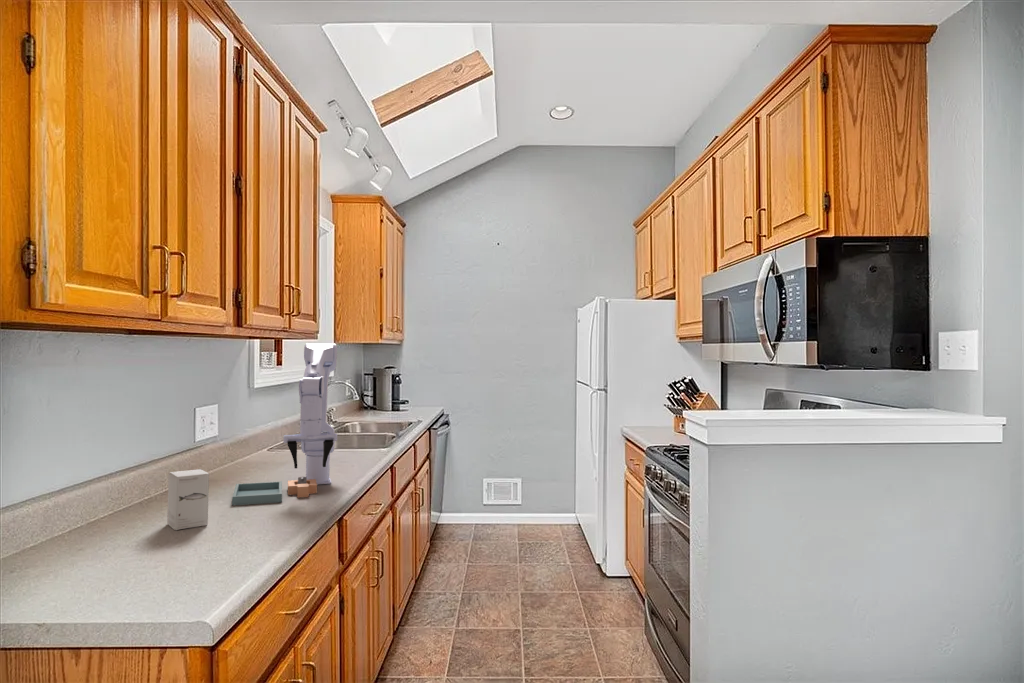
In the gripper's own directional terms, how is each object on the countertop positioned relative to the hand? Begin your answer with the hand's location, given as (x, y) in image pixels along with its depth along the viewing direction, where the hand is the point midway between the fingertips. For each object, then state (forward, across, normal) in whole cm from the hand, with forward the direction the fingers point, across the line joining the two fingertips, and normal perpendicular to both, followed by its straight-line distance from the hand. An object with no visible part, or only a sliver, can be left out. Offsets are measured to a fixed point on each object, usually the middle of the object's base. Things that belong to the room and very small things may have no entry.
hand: (310, 467), depth 181 cm
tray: (+9, -14, +6) cm, 17 cm away
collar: (+9, -2, +7) cm, 12 cm away
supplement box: (+9, -29, -19) cm, 36 cm away
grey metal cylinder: (+9, -2, +9) cm, 13 cm away
